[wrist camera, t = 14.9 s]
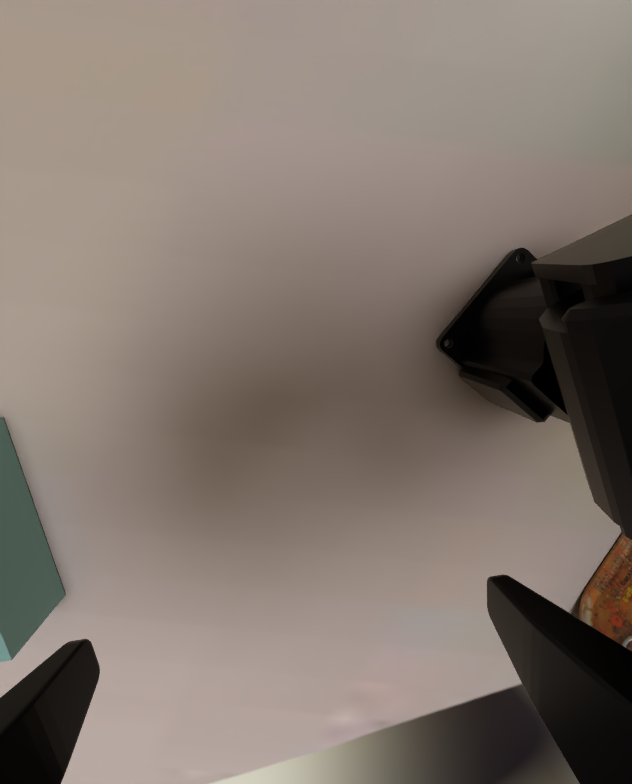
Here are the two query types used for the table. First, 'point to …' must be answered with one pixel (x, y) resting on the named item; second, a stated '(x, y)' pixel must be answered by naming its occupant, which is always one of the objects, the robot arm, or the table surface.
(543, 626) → the robot arm
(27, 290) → the table surface
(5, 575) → the rectangular frame
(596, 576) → the tin
